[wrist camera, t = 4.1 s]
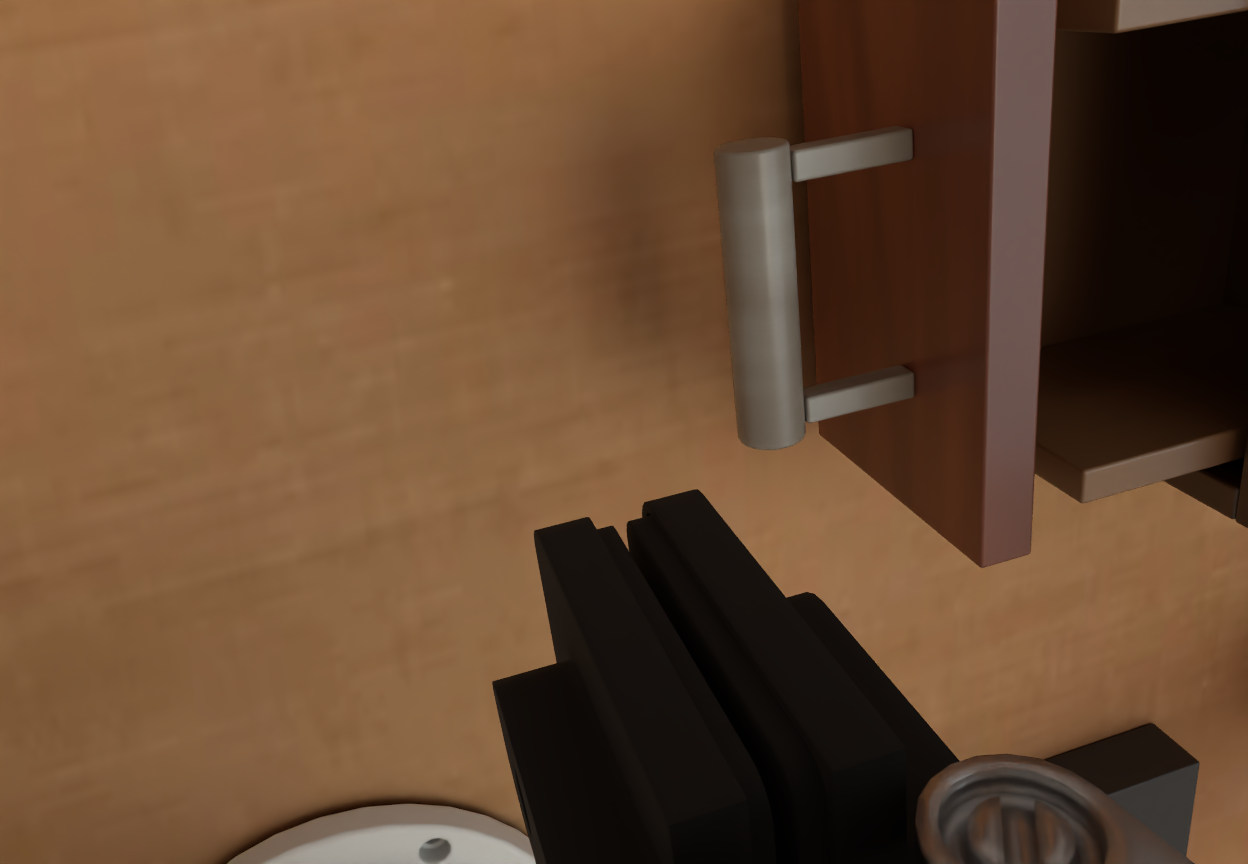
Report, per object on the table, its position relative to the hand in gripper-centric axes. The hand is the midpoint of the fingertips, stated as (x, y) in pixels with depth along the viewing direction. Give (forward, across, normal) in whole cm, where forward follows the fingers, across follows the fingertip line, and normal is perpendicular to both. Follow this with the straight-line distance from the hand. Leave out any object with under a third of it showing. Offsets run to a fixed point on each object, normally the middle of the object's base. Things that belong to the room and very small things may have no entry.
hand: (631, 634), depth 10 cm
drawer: (+14, -13, +1) cm, 19 cm away
